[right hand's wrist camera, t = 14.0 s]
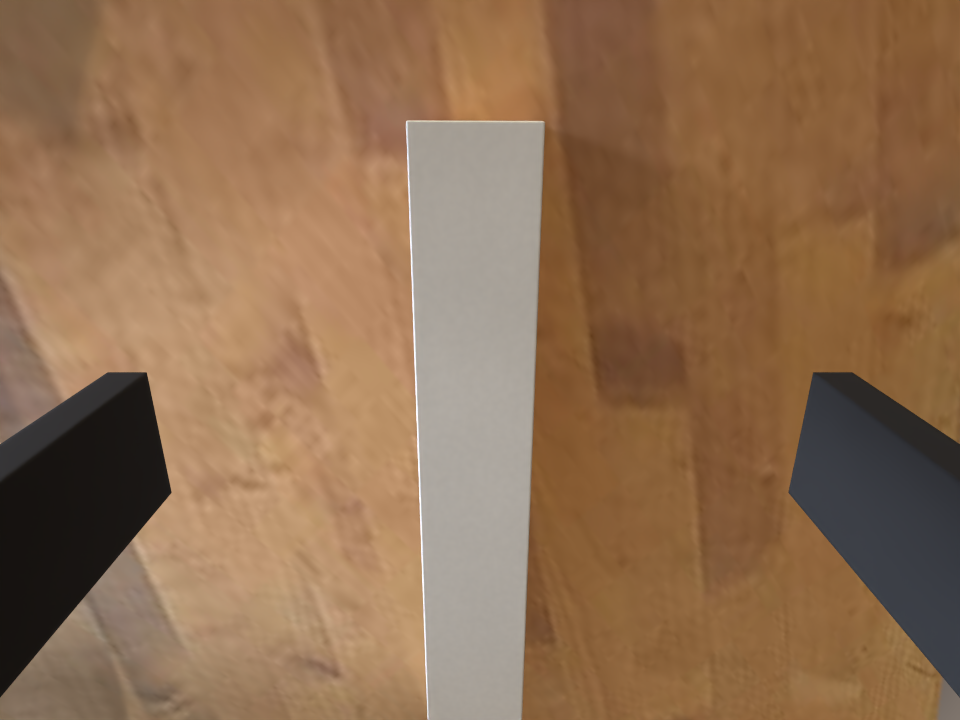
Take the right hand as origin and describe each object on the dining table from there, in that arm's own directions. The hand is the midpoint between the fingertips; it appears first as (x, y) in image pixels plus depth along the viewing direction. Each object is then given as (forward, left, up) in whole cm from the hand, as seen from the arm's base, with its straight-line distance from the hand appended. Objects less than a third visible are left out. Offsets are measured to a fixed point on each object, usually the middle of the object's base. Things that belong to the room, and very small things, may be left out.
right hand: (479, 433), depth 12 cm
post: (+2, -24, -21) cm, 32 cm away
